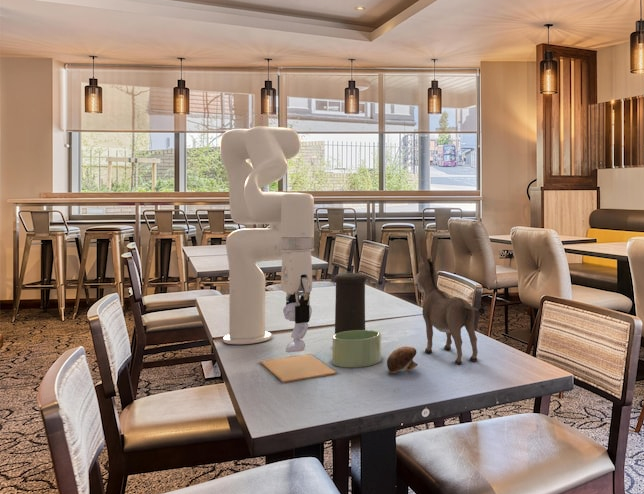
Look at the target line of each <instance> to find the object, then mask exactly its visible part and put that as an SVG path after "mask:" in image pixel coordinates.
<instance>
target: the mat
mask: <svg viewBox="0 0 644 494" xmlns="http://www.w3.org/2000/svg"><path fill="white" fill-rule="evenodd" d="M260 364H261V365H262V366H264V367H265V368H266V369H267V370H268V371H269V372H271V374H273V375H274V376H275V377H276V379H278V380H280V381H281V382H282V383H283V384H284V383H285V384H286V383H289V382H296V381H301V380H308V379H314V378H320V377H326V376H332V375H337V371H336V370H334V369H333V368H331V367H329V366H328V365H327V364H325V363H323V362H322V361H321V360H319V359H317V358H316V357H314V356H313V355H311V354H310V353H309V354H308V353H307V354H302V355H295V356H288V357H287V356H286V357H282V358H274V359H268V360H267V359H266V360H261V361H260Z"/></svg>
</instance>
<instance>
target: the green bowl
mask: <svg viewBox="0 0 644 494" xmlns="http://www.w3.org/2000/svg"><path fill="white" fill-rule="evenodd" d="M381 360H382V333H381V332H380V331H377V330H371V329H365V330H351V331H344V332H339V333H336V334H335V333H334V334H333V335H332V365H334V366H336V367H340V368H364V367H370V366H373V365H376V364H378V363H380V362H381Z"/></svg>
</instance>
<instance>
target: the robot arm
mask: <svg viewBox="0 0 644 494" xmlns="http://www.w3.org/2000/svg"><path fill="white" fill-rule="evenodd" d="M301 144H302V142H301V138H300V135H299V134H298V132H297V131H296V130H295V129H293V128H291V127H281V126H268V125H258V126H254V127H251V128H249V129H248V128H247V129H246V128H237V129H236V128H235V129H230V130H226V131H225V132H224V133H223V134H222V135H221V137H220V142H219V153H220V158H221V161H222V164H223V166H224V170H225V173H226V175H227V180H228V199H229V215H230V218H231V220H232V221H233V223H235V224H238V225H269V226H270V227H269V228H268V227H265V228H257V227H256V228H240V229H236V230H233V231H232V232H230V233H229V234H228V235H227V237H226V239H225V250H226V255H227V262H228V273H229V275H228V276H229V277H228V279H229V291H228V292H229V295H228V296H229V297H228V299H229V303H228V304H229V309H228V311H229V312H228V315H229V316H228V317H229V320H228V321H229V322H228V324H229V325H228V326H229V327H228V329H229V330H228V331H229V332H228V333H229V334H227V335H225V336H223V343H225V344H228V345H250V344H257V343H263V342H267V341H269V340H271V338H272V333H271V332H268V331H266V275H265V273H264V272H263V270H262V269H261V268H260V267H259V266H258V265H257V263H261V262H273V261H281V274H280V289H281V291H283V292H284V293H285V294H286V295H285V306H286V305H287V304H290V303H295V302H296V304H297V306H295V321H294V324H295V323H306V322H308V323H309V322H310V320H309V305H310V306H311V304H310V303H311V301H310V298H311V297H310V295H311V292H312V290H313V265H312V264H313V263H312V252H314V251H315V199H314V196H313V195H312V194H311V193H309V192H284V191H283V192H280V191H279V192H278V191H262V188H264V187H267V186H269V185H272V184H274V183H277V182H278V181H280V180H282V179H283V178H284V177H285V176H286V175H287V174H288V172H289V163H288V161H287V160H292V159H295V158H296V157H298V156H299V154H300V152H301V148H302V147H301V146H302V145H301ZM248 160H250V162H249V161H248Z"/></svg>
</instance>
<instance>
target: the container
mask: <svg viewBox="0 0 644 494" xmlns="http://www.w3.org/2000/svg"><path fill="white" fill-rule="evenodd" d="M333 281H334V283H335V305H334V306H335V307H334V308H335V309H334V310H335V311H334V334H336V333H339V332H344V331H351V330H366V282H367V275H366V274H365V273H357V272H346V273H338V274H336V275H335V276H334V277H333Z"/></svg>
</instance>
